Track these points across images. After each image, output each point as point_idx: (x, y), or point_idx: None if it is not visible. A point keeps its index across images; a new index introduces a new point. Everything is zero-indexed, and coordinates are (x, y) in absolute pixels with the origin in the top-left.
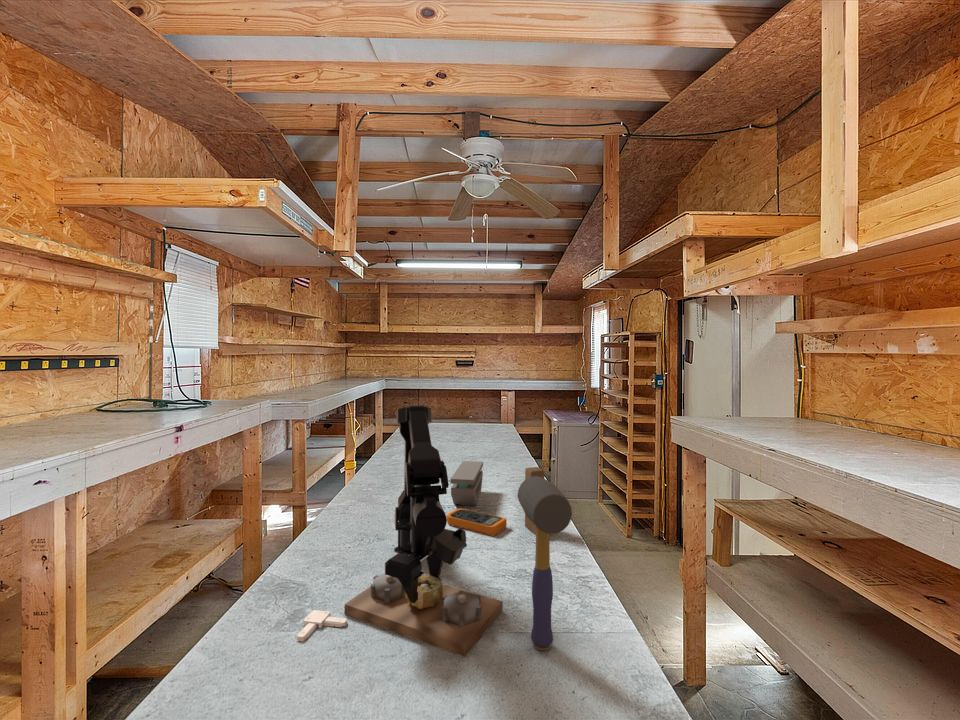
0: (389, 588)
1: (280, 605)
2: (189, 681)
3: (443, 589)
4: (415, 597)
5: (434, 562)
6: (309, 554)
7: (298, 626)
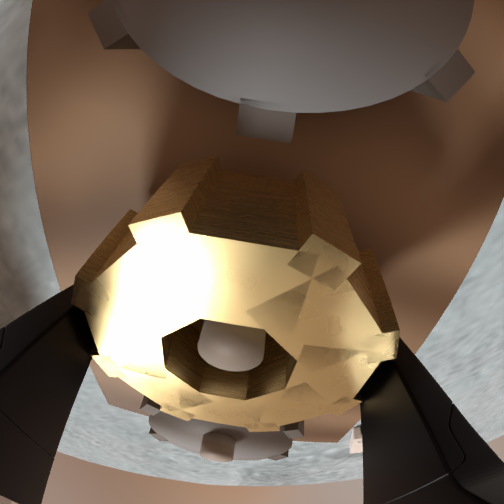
0: (282, 432)
1: (324, 469)
2: (492, 435)
3: (163, 192)
4: (401, 346)
5: (30, 414)
6: (160, 471)
7: None
